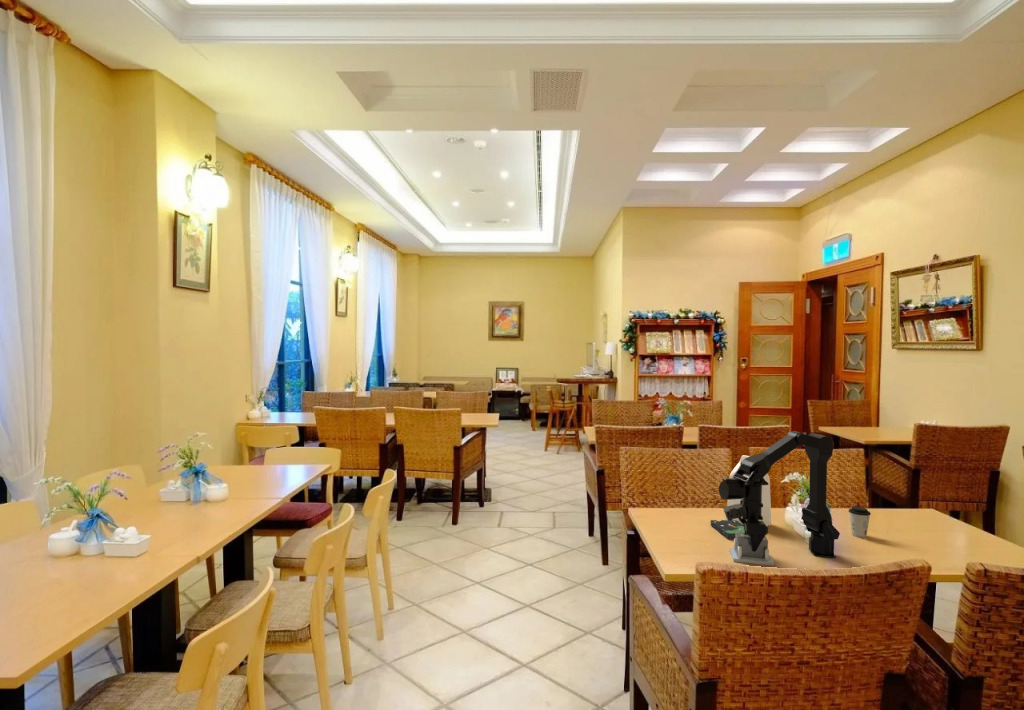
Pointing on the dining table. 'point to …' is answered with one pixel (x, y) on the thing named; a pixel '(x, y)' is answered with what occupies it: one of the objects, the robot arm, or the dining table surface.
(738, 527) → the disk drive
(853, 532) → the coffee cup
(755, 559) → the tray
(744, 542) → the block
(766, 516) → the milk
